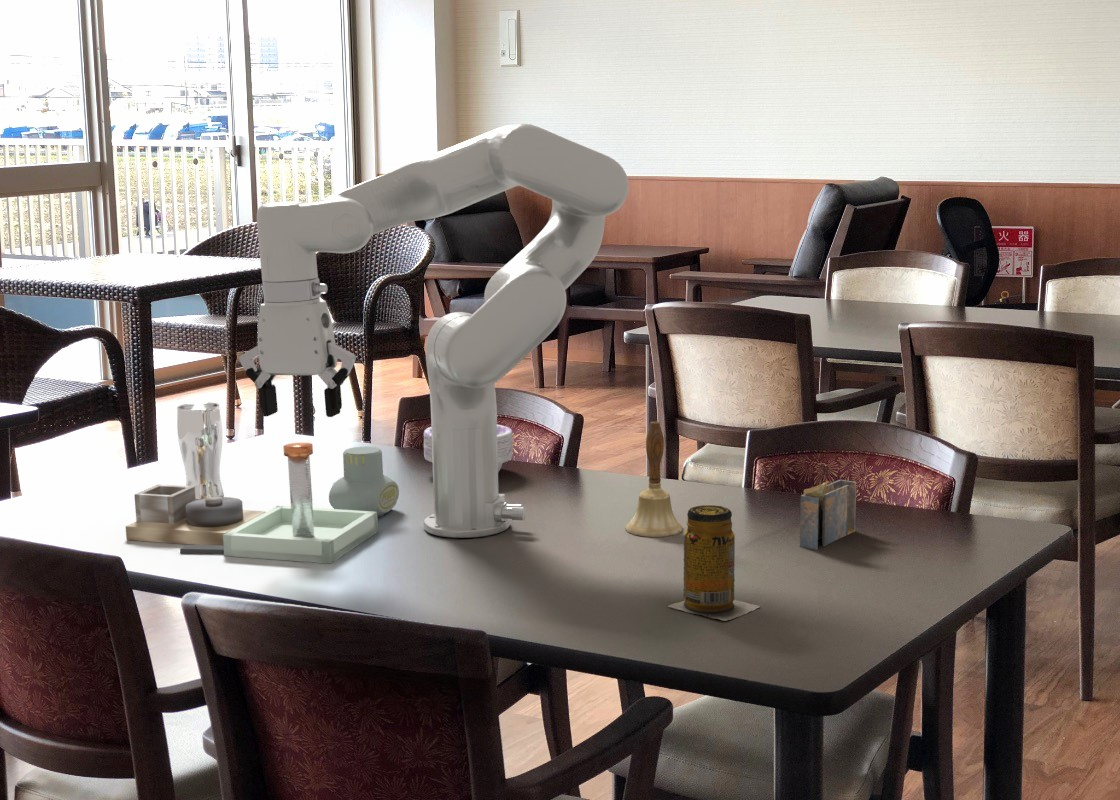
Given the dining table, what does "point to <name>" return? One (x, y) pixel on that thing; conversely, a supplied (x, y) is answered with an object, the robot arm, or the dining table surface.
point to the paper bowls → (502, 444)
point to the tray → (276, 539)
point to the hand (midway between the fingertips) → (301, 414)
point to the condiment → (710, 565)
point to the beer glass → (201, 447)
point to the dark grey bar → (203, 549)
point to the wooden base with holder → (185, 516)
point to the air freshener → (364, 483)
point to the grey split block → (827, 513)
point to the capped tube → (300, 488)
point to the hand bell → (654, 495)
